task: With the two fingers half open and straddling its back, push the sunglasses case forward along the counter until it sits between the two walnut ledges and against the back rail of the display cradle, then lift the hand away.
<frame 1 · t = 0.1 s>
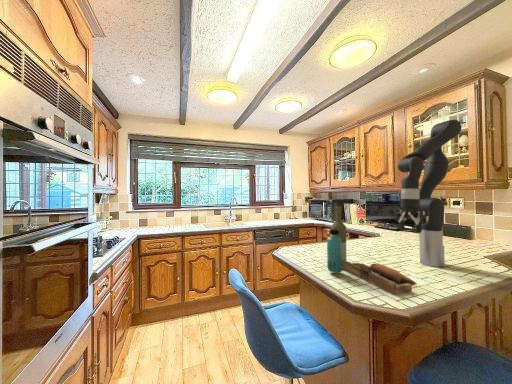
hand: (409, 231, 106), 17 cm above the countertop, tool pointing down, fingers open, 8 cm apart
display cradle: (378, 278, 91), on the countertop
bottle: (339, 266, 107), on the countertop
sunglasses case: (392, 278, 93), on the countertop
beverage bottle: (334, 274, 98), on the countertop
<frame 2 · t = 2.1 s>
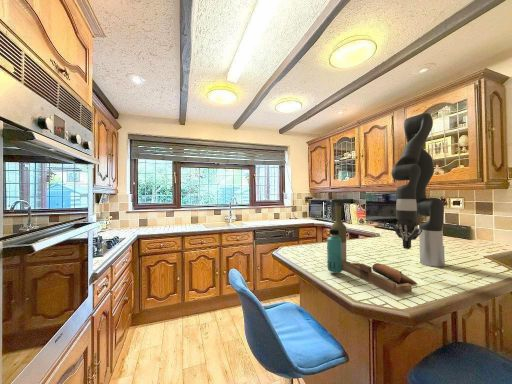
hand: (406, 248, 96), 11 cm above the countertop, tool pointing down, fingers closed
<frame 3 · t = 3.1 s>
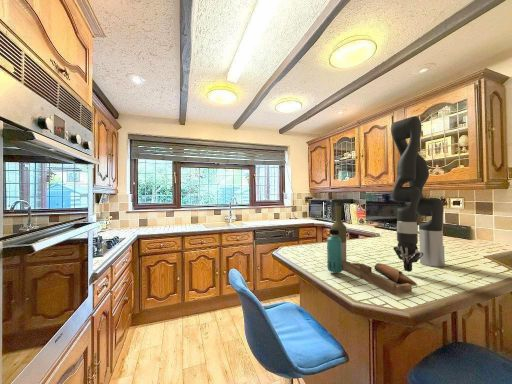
hand: (407, 270, 95), 2 cm above the countertop, tool pointing down, fingers closed
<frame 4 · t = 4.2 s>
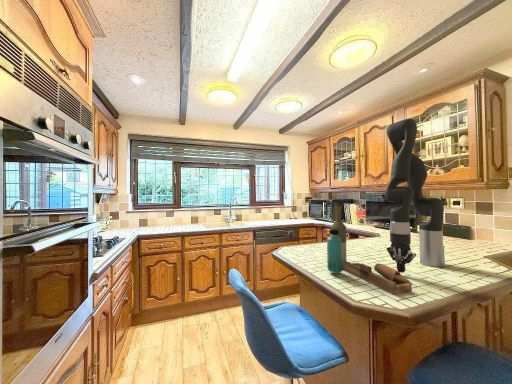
hand: (400, 271, 94), 2 cm above the countertop, tool pointing down, fingers closed
sunglasses case: (392, 278, 93), on the countertop, touching gripper
everything else where it was.
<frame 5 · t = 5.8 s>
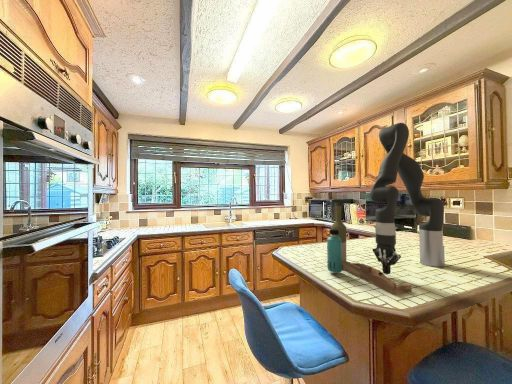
hand: (386, 273, 93), 2 cm above the countertop, tool pointing down, fingers closed
sunglasses case: (375, 279, 94), on the countertop
everything else where it was.
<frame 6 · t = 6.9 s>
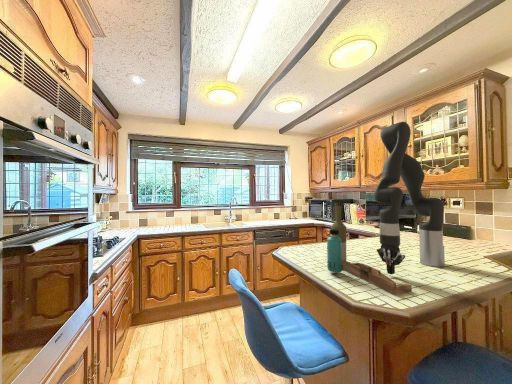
hand: (390, 273, 93), 1 cm above the countertop, tool pointing down, fingers closed
sunglasses case: (373, 277, 94), on the countertop
everything else where it was.
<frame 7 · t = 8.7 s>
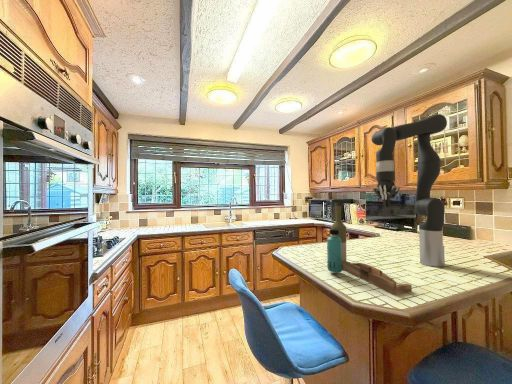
hand: (386, 207, 102), 29 cm above the countertop, tool pointing down, fingers closed
nothing on the countertop moved.
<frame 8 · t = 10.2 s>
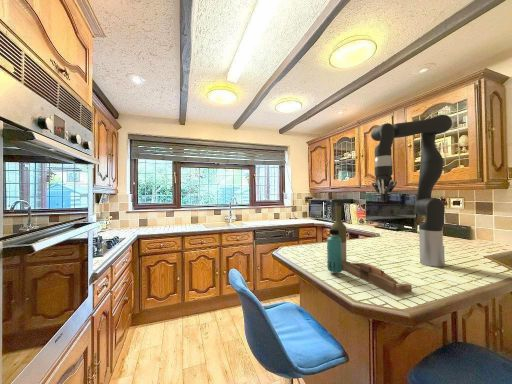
hand: (384, 201, 105), 32 cm above the countertop, tool pointing down, fingers closed
at the end: sunglasses case inside the target area (3.8 cm from its centre), on the countertop; sunglasses case tilted 0°; the gripper is holding nothing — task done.
